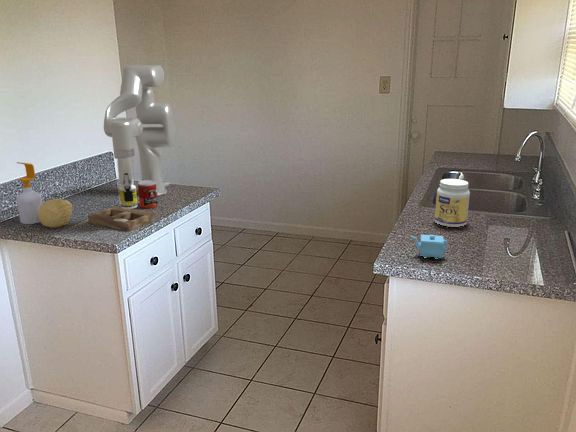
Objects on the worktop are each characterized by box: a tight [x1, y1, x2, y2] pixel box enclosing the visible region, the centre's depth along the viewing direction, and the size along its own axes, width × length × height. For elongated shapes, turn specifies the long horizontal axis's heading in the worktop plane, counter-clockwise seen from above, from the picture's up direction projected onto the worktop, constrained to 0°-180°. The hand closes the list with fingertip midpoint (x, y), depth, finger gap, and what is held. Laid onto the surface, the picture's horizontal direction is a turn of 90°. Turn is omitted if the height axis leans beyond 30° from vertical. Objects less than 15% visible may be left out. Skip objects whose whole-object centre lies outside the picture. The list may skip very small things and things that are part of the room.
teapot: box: [410, 234, 449, 259], centre depth 175 cm, size 12×6×8 cm, turn 77°
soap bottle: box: [16, 161, 44, 225], centre depth 211 cm, size 9×9×25 cm
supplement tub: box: [434, 178, 471, 228], centre depth 204 cm, size 12×12×17 cm
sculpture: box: [38, 198, 73, 229], centre depth 208 cm, size 11×12×11 cm
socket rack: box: [87, 205, 155, 232], centre depth 212 cm, size 14×22×3 cm, turn 61°
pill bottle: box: [118, 180, 139, 210], centre depth 206 cm, size 6×6×11 cm
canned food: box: [137, 180, 159, 210], centre depth 231 cm, size 8×8×11 cm
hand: (128, 198), depth 207 cm, fingers closed on pill bottle, 6 cm apart
